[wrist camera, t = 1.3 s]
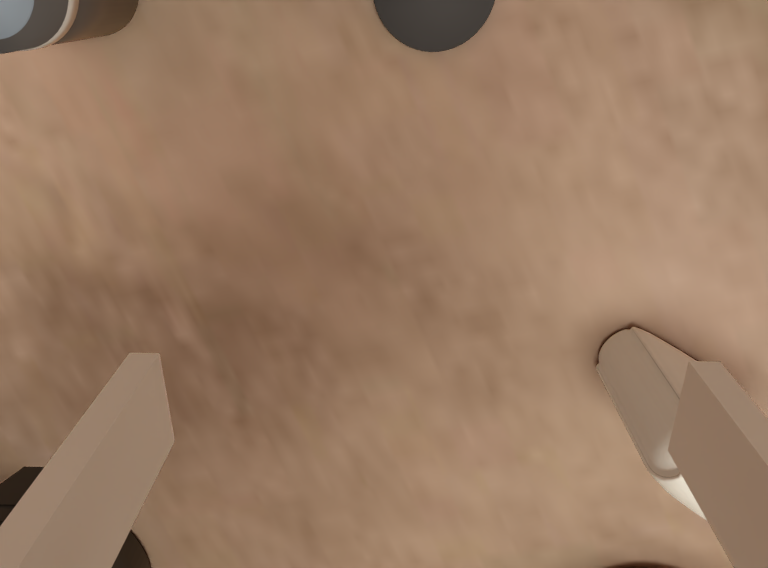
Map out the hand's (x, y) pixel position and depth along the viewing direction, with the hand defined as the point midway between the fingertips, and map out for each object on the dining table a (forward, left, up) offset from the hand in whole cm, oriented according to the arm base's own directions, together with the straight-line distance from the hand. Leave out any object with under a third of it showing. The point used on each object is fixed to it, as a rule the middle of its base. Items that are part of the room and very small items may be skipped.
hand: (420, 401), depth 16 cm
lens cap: (+2, +9, -22) cm, 24 cm away
